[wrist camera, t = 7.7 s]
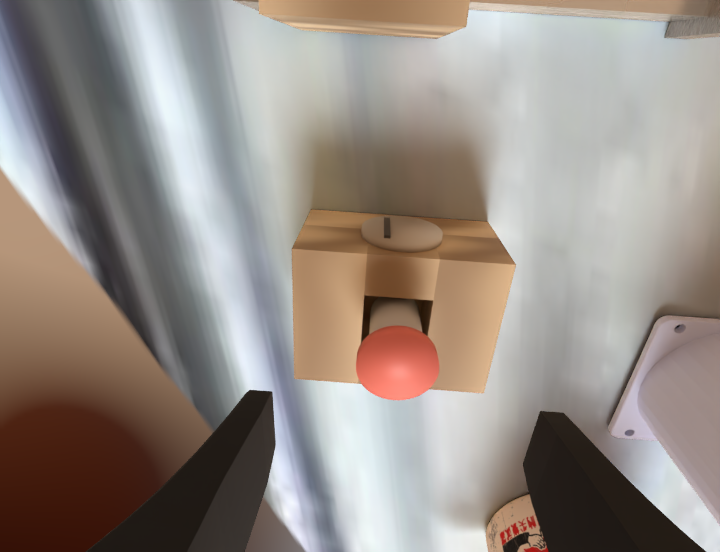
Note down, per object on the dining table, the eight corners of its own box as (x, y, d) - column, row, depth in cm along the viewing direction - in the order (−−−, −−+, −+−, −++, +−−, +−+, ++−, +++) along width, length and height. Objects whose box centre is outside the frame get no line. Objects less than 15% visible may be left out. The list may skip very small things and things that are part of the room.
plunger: (433, 285, 17) (445, 337, 13) (424, 343, 18) (433, 403, 15) (362, 280, 17) (358, 331, 14) (359, 338, 18) (353, 396, 15)
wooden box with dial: (489, 212, 19) (518, 254, 15) (465, 331, 22) (483, 393, 18) (311, 200, 19) (291, 238, 15) (310, 320, 22) (294, 378, 18)
